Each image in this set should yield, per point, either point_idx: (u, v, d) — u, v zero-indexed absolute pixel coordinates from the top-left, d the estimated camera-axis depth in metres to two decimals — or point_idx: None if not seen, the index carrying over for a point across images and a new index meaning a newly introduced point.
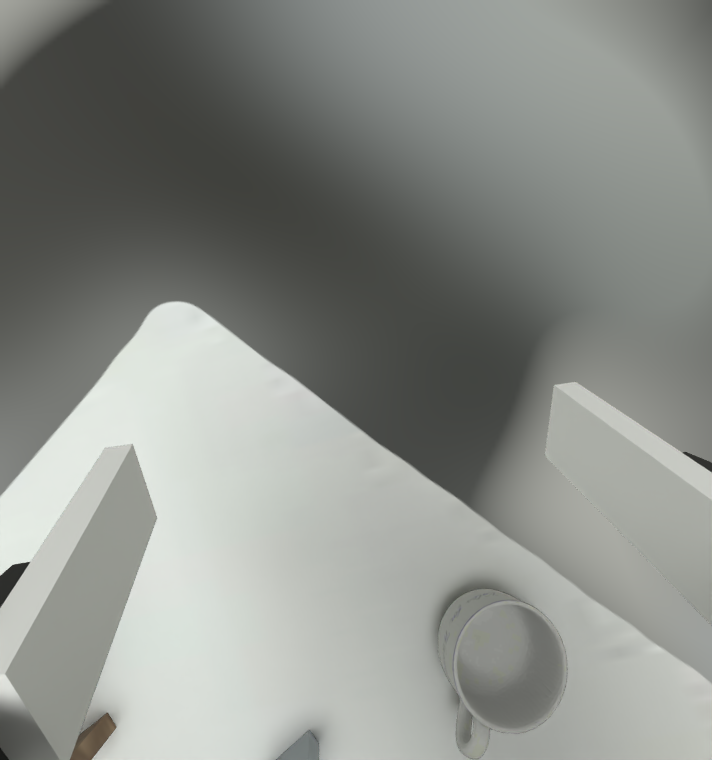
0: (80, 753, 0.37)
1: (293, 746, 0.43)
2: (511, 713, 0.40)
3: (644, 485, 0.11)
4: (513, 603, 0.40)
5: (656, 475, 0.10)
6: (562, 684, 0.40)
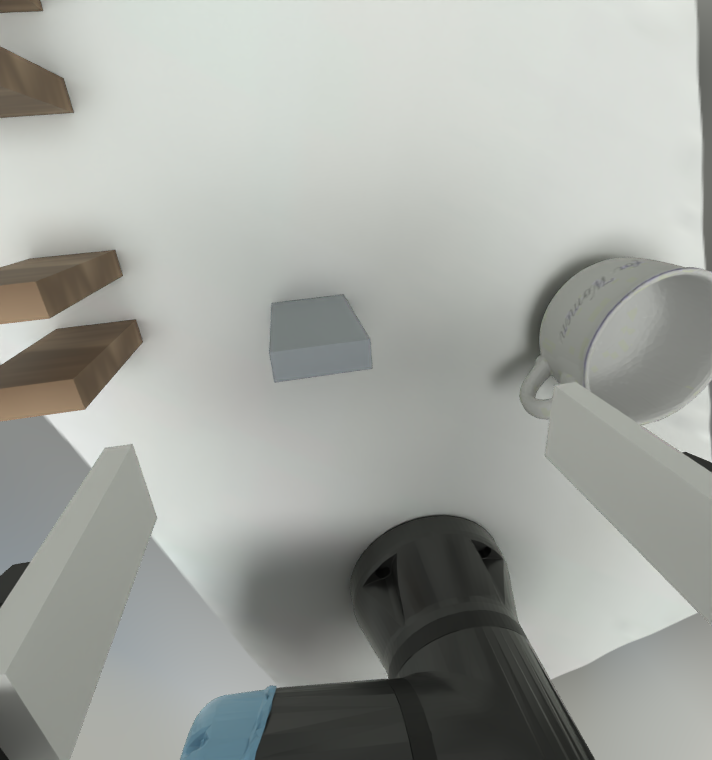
0: (11, 64, 0.19)
1: (317, 299, 0.30)
2: None
3: (644, 485, 0.11)
4: None
5: (656, 475, 0.10)
6: (679, 405, 0.30)
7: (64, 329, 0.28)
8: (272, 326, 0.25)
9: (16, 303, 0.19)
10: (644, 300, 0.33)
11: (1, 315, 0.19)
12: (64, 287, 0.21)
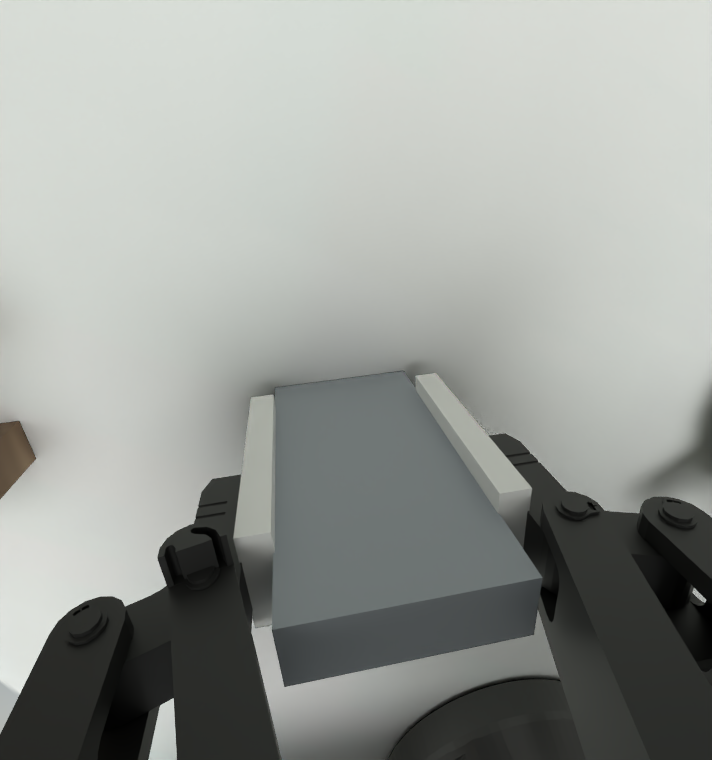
0: None
1: (358, 381, 0.17)
2: None
3: None
4: None
5: (461, 452, 0.12)
6: None
7: None
8: (278, 477, 0.12)
9: None
10: None
11: None
12: None
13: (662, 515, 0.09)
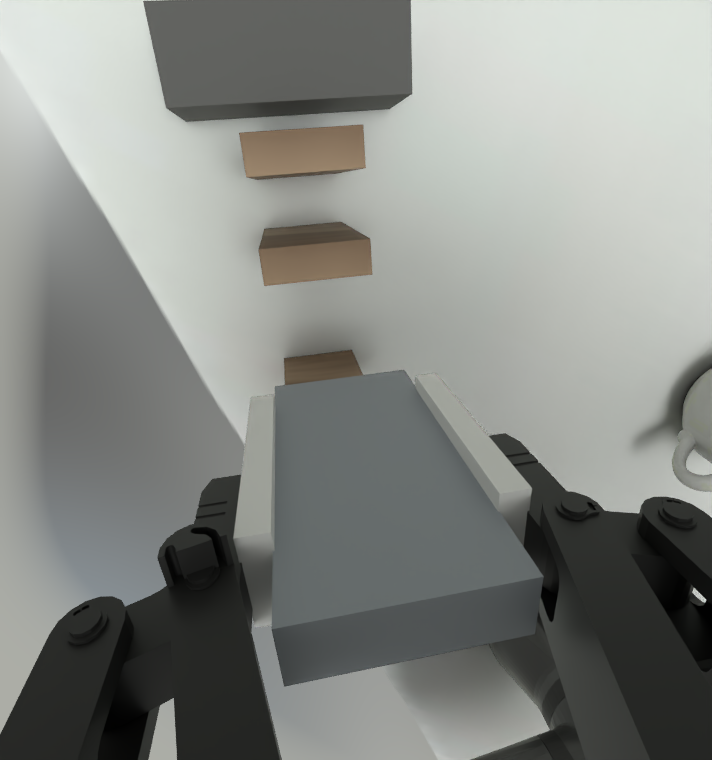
0: None
1: (358, 380, 0.17)
2: None
3: None
4: None
5: (461, 452, 0.12)
6: None
7: None
8: (278, 476, 0.12)
9: None
10: None
11: None
12: None
13: (662, 515, 0.09)
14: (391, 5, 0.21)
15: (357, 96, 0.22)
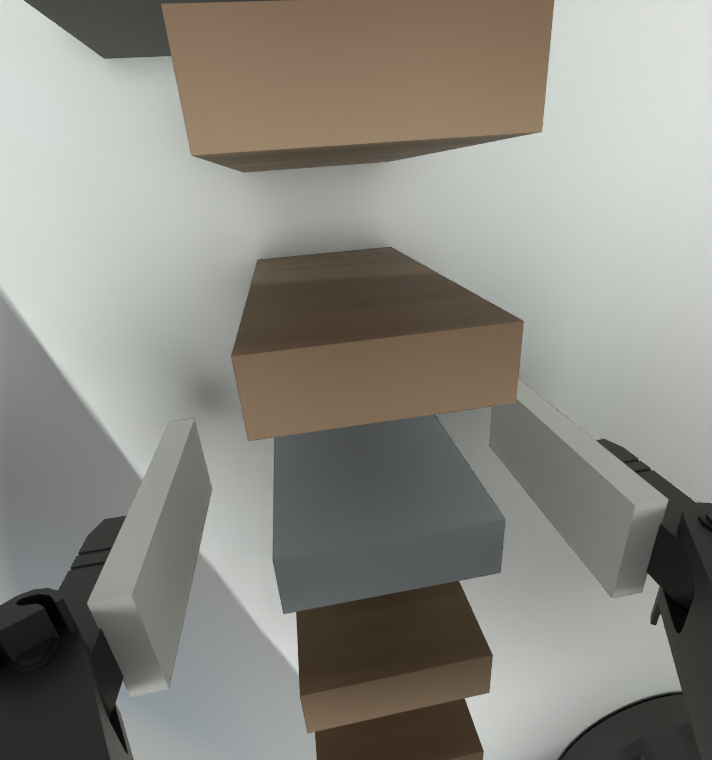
0: None
1: None
2: None
3: (560, 469, 0.11)
4: None
5: (568, 459, 0.11)
6: None
7: None
8: (278, 444, 0.13)
9: (453, 682, 0.12)
10: None
11: (425, 698, 0.12)
12: None
13: None
14: None
15: None
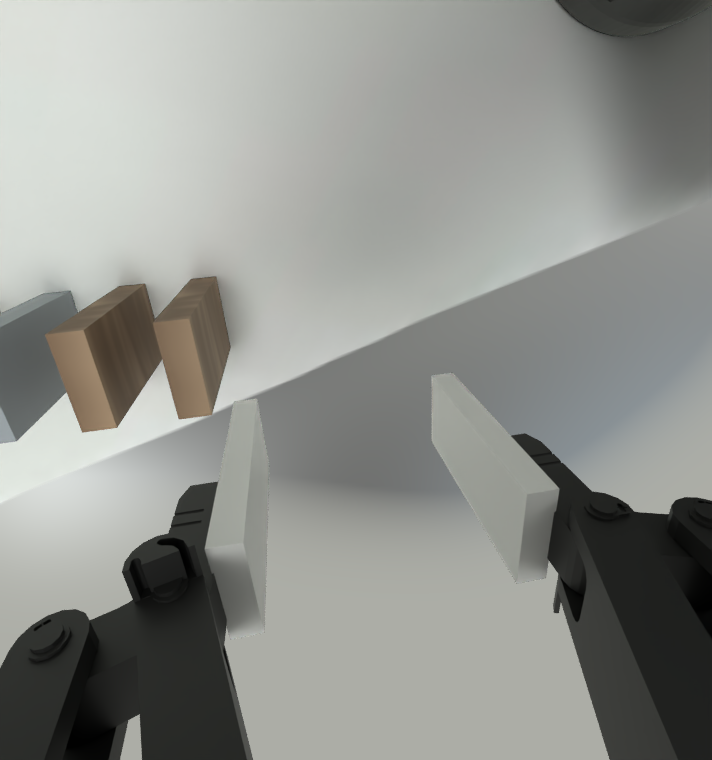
0: None
1: None
2: None
3: (478, 462, 0.12)
4: None
5: (483, 452, 0.12)
6: None
7: None
8: None
9: (72, 354, 0.20)
10: None
11: (88, 368, 0.20)
12: (81, 318, 0.21)
13: (693, 515, 0.09)
14: None
15: None
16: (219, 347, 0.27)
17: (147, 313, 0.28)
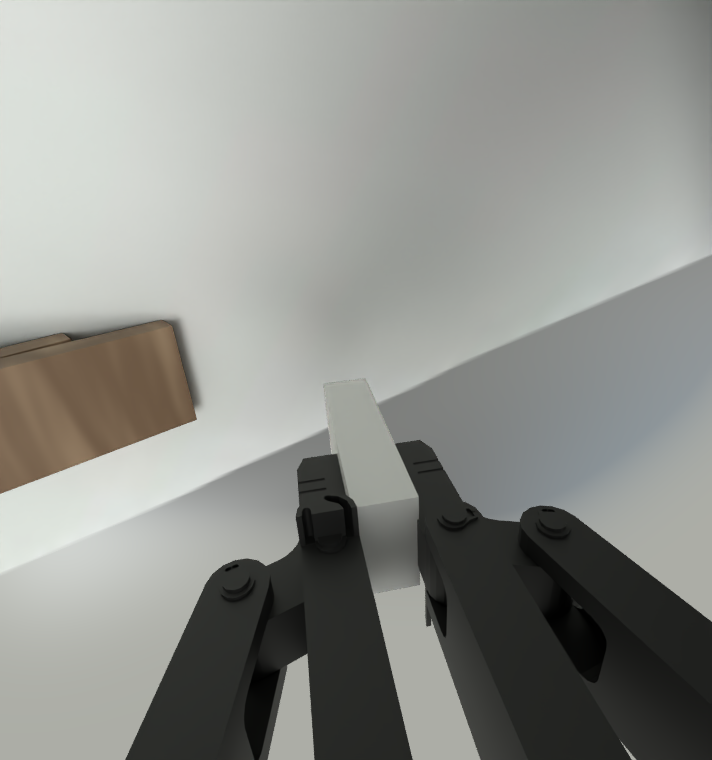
0: None
1: None
2: None
3: None
4: None
5: None
6: None
7: None
8: None
9: None
10: None
11: None
12: None
13: (540, 527, 0.09)
14: None
15: None
16: (101, 423, 0.20)
17: None
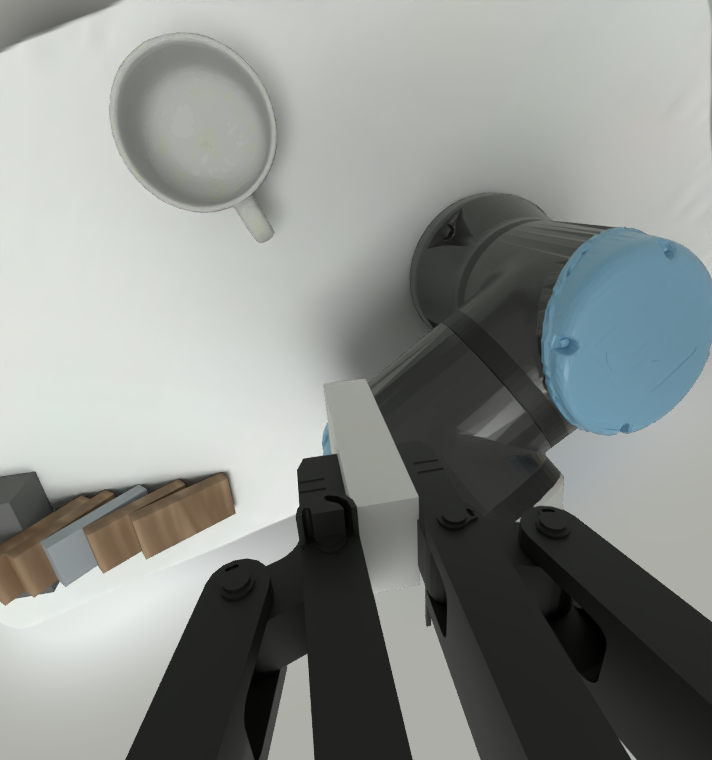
0: (57, 523, 0.44)
1: None
2: None
3: None
4: (124, 68, 0.28)
5: None
6: (254, 79, 0.30)
7: None
8: None
9: (88, 540, 0.43)
10: (178, 85, 0.34)
11: (92, 548, 0.43)
12: (107, 519, 0.44)
13: (540, 526, 0.09)
14: None
15: (20, 524, 0.43)
16: (198, 520, 0.48)
17: None
